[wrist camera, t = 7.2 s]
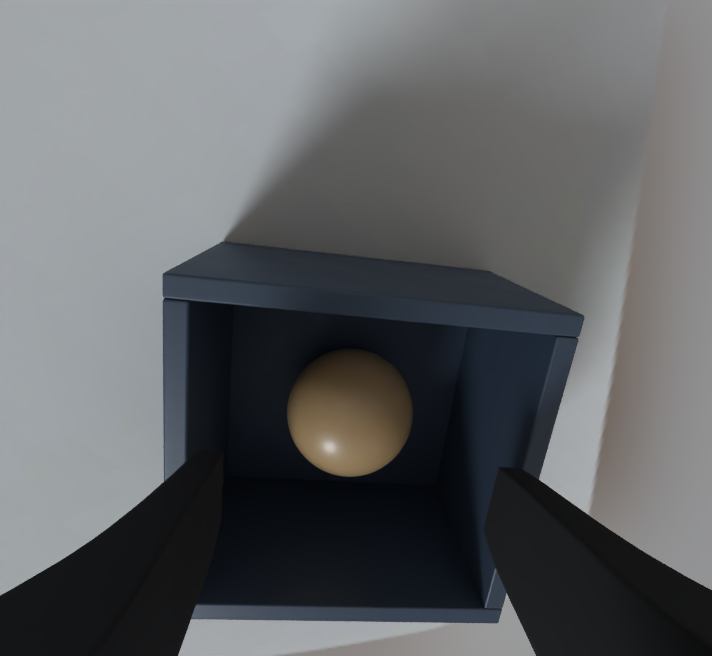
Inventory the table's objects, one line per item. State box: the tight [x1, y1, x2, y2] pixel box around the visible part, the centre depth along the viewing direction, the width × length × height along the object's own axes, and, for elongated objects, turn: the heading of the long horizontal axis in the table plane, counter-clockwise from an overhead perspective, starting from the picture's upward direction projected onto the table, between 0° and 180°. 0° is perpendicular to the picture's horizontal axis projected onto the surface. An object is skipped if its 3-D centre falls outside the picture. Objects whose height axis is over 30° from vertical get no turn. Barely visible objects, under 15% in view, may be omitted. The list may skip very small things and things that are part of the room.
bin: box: [163, 242, 584, 623], centre depth 15 cm, size 10×10×6 cm
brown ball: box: [287, 348, 413, 477], centre depth 15 cm, size 4×4×4 cm
